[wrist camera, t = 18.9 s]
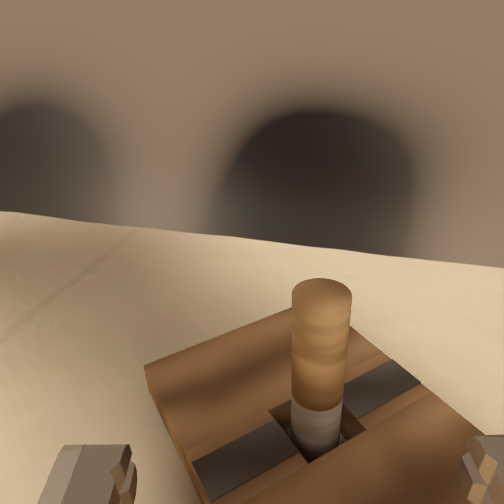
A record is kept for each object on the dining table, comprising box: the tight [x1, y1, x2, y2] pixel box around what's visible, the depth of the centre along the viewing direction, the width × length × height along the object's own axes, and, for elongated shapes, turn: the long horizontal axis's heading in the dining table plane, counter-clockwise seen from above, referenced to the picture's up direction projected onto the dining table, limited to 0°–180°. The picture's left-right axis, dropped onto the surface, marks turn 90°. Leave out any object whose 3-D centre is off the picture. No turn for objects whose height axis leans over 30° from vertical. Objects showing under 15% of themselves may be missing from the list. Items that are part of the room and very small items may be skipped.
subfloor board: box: [144, 307, 485, 504], centre depth 32 cm, size 24×18×3 cm
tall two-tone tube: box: [291, 278, 352, 464], centre depth 29 cm, size 4×4×14 cm
